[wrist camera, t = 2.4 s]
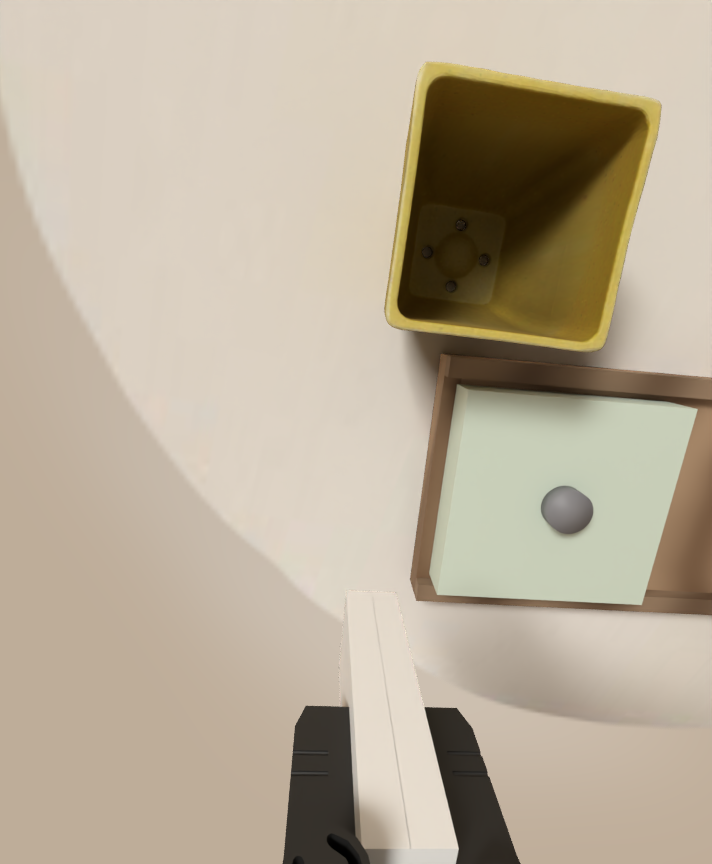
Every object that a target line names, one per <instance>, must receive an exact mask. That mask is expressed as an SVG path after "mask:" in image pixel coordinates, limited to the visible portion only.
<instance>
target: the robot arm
mask: <svg viewBox="0 0 712 864" xmlns="http://www.w3.org/2000/svg"><path fill="white" fill-rule="evenodd" d="M339 689H340V690H339V691H340V707H331V706H306V707H305V709H304V710H303V713H302V714H301V716H300V718H299V720H298V722H297V723H296V725H295V733H294V745H293V756H292V769H291V780H290V791H289V803H288V815H287V826H286V838H285V850H284V860H283V864H520V862H519V859H518V857H517V855H516V852H515V849H514V846H513V844H512V841H511V838H510V835H509V832H508V829H507V826H506V824H505V821H504V818H503V815H502V812H501V809H500V807H499V803H498V801H497V798H496V795H495V792H494V789H493V786H492V783H491V781H490V778H489V777H488V775H487V769H486V766H485V763H484V761H483V758H482V756H481V755H480V749H479V746H478V743H477V740H476V738H475V735H474V732H473V729H472V727H471V726H470V725H469V724H468V722H467V721H466V720H465V718H464V717H463V716H462V714H461V713H460V712H459V711H458V709H457V708H432V707H431V708H430V707H424V704H423V700H422V696H421V692H420V689H419V684H418V680H417V676H416V672H415V667H414V663H413V659H412V655H411V651H410V647H409V643H408V639H407V635H406V630H405V626H404V622H403V618H402V614H401V610H400V606H399V602H398V598H397V594H396V592H378V591H356V590H346V598H345V608H344V619H343V630H342V640H341V651H340V661H339Z"/></svg>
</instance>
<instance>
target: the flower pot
mask: <svg viewBox="0 0 712 864" xmlns="http://www.w3.org/2000/svg"><path fill="white" fill-rule="evenodd" d="M660 116H661V103H660V102H659V101H657V100H655V99H653V98H649V97H644V96H638V95H631V94H625V93H619V92H613V91H608V90H600V89H594V88H586V87H580V86H574V85H569V84H564V83H558V82H552V81H546V80H540V79H535V78H530V77H525V76H519V75H512V74H506V73H500V72H496V71H491V70H487V69H481V68H474V67H468V66H463V65H458V64H451V63H442V62H426V63H424V64H423V66H422V67H421V69H420V71H419V73H418V76H417V80H416V85H415V92H414V98H413V105H412V111H411V118H410V124H409V131H408V137H407V143H406V150H405V159H404V167H403V176H402V184H401V192H400V200H399V207H398V214H397V222H396V229H395V236H394V243H393V251H392V258H391V265H390V272H389V280H388V286H387V293H386V299H385V308H384V309H385V316H386V320H387V322H388V324H389V325H391V326H392V327H394V328H397V329H401V330H408V331H418V332H426V333H435V334H444V335H453V336H462V337H470V338H479V339H487V340H496V341H504V342H512V343H519V344H527V345H534V346H542V347H548V348H556V349H563V350H570V351H577V352H595V351H598V350H600V349H602V347H603V346H604V344H605V341H606V338H607V335H608V332H609V327H610V323H611V319H612V315H613V311H614V306H615V302H616V296H617V291H618V287H619V283H620V279H621V275H622V270H623V265H624V261H625V256H626V252H627V247H628V243H629V239H630V235H631V231H632V227H633V223H634V219H635V216H636V212H637V209H638V205H639V201H640V198H641V195H642V191H643V188H644V184H645V180H646V177H647V173H648V169H649V165H650V161H651V158H652V154H653V150H654V147H655V144H656V140H657V136H658V131H659V124H660ZM458 220H464V221H465V223H466V227H465V229H464V230H462V231H460V230H458V229H457V228H456V222H457V221H458ZM425 247H430V248H431V249H432V255H431V256H430V257H428V258H426V257H424V256H423V254H422V250H423V249H424V248H425ZM481 255H486V256H487V257H488V259H489V261H488V263H487V264H486V265H484V266H483V265H481V264H480V263H479V258H480V256H481ZM449 281H453V282H454V283H455V285H456V287H455V290H454V291H451V292H450V291H448V290H447V289H446V284H447V283H448V282H449Z"/></svg>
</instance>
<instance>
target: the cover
mask: <svg viewBox="0 0 712 864" xmlns="http://www.w3.org/2000/svg"><path fill="white" fill-rule="evenodd" d="M697 410H698V409H695V408H691V407H687V406H683V405H679V404H675V403H671V402H666V401H654V400H642V399H630V398H618V397H606V396H594V395H582V394H571V393H559V392H547V391H535V390H523V389H511V388H499V387H488V386H476V385H464V384H457V387H456V394H455V401H454V407H453V414H452V421H451V428H450V435H449V441H448V448H447V455H446V462H445V469H444V475H443V482H442V489H441V496H440V503H439V509H438V516H437V523H436V530H435V537H434V543H433V550H432V557H431V564H430V571H429V575H430V577H431V580H432V583H433V585H434V588H435V591H436V593H437V595H451V596H471V597H491V598H511V599H531V600H552V601H572V602H592V603H612V604H632V605H642V602H643V599H644V595H645V592H646V588H647V585H648V581H649V578H650V574H651V571H652V567H653V564H654V560H655V557H656V553H657V550H658V546H659V543H660V539H661V536H662V533H663V529H664V526H665V522H666V519H667V515H668V512H669V508H670V505H671V501H672V498H673V494H674V491H675V487H676V484H677V480H678V477H679V473H680V470H681V466H682V463H683V459H684V456H685V452H686V449H687V445H688V442H689V438H690V435H691V431H692V428H693V424H694V421H695V417H696V414H697Z"/></svg>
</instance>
